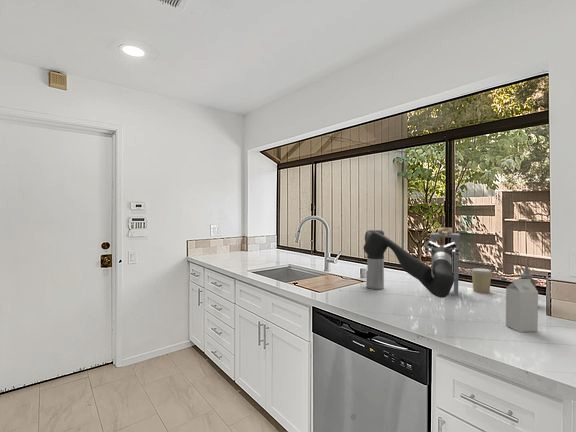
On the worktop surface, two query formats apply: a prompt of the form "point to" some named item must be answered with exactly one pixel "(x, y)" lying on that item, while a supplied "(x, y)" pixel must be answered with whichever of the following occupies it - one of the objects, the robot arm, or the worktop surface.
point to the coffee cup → (481, 280)
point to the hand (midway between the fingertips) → (441, 239)
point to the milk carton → (522, 306)
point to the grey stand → (456, 258)
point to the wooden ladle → (444, 231)
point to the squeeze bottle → (527, 276)
